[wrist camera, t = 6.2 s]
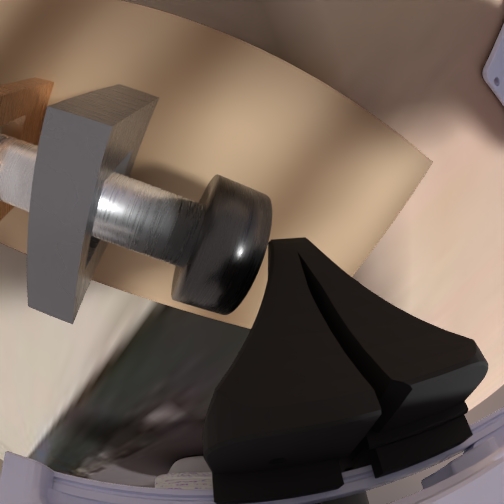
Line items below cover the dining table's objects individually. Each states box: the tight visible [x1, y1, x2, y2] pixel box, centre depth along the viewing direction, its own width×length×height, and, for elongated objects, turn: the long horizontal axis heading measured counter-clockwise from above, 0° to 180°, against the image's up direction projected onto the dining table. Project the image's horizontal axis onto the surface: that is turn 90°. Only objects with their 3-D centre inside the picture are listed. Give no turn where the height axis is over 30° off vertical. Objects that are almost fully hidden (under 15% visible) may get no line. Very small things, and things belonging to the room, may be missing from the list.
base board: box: [0, 0, 433, 329], centre depth 11 cm, size 22×12×2 cm, turn 63°
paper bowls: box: [155, 456, 213, 490], centre depth 31 cm, size 15×15×8 cm
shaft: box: [0, 133, 272, 315], centre depth 7 cm, size 16×4×4 cm, turn 63°
